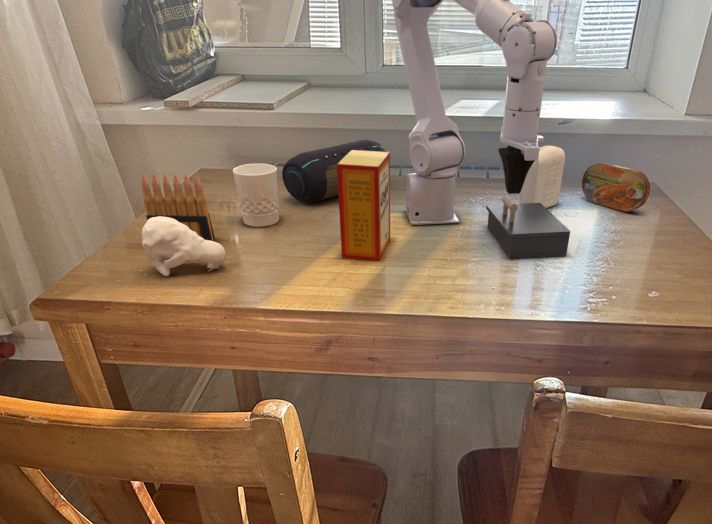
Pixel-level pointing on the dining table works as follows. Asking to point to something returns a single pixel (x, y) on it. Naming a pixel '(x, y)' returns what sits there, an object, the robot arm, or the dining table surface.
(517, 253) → the flip case
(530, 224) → the cover
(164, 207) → the ammunition clip
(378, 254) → the baking soda box
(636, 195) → the tin
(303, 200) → the portable speaker
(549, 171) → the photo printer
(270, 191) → the white cup
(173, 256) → the white figurine
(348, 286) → the dining table surface
